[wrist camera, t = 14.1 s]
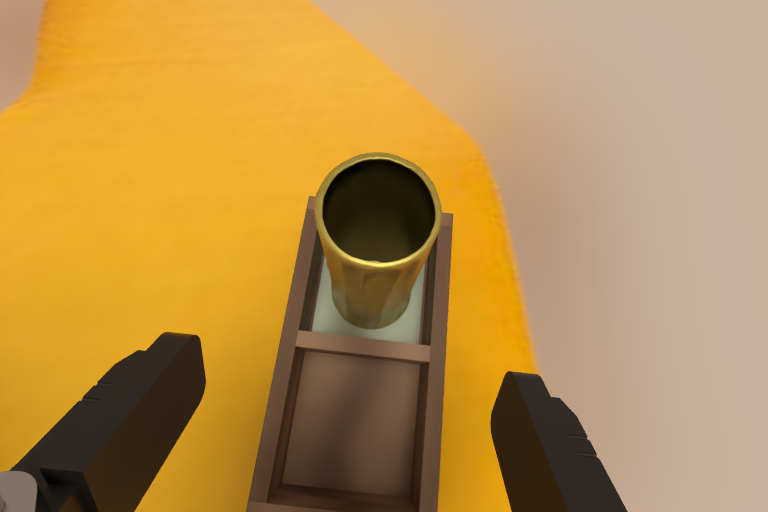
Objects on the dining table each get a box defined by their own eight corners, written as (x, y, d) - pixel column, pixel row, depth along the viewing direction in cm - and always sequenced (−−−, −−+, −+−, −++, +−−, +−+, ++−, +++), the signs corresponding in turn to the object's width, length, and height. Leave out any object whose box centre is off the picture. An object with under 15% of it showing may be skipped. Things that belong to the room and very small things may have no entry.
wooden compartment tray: (267, 493, 25) (243, 522, 20) (317, 224, 31) (309, 196, 26) (421, 510, 25) (435, 543, 20) (438, 239, 31) (453, 213, 26)
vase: (384, 239, 29) (401, 121, 16) (426, 303, 28) (484, 232, 14) (317, 276, 28) (274, 182, 15) (357, 345, 27) (351, 311, 13)
